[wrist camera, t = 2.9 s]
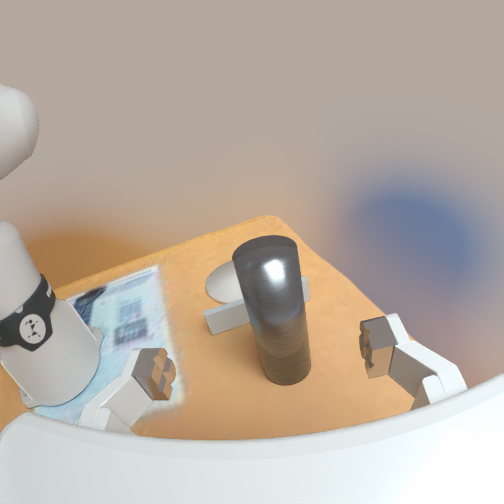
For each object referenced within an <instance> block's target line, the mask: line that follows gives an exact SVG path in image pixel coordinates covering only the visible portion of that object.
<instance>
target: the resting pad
mask: <svg viewBox="0 0 504 504" xmlns="http://www.w3.org/2000/svg"><path fill="white" fill-rule="evenodd" d="M206 290H207V293H208V295H209V296H210V297H211V298H212V299H213V300H214V301H217V302H219V303H222V304H227V303H230V302H233V301H236V300H239V299H242V298H243V295H242V292H241V288H240V285H239V281H238V278H237V274H236V271H235V267H234V263H233V260H231V261H229V262H227V263H225V264H223V265H221V266H219V267H218V268H216V269H215V270H214V271H213V272H212V273H211V274H210V275H209V277H208V279H207V281H206Z"/></svg>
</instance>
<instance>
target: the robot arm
mask: <svg viewBox="0 0 504 504" xmlns="http://www.w3.org/2000/svg"><path fill="white" fill-rule="evenodd" d="M38 133H39V119H38V114H37V110H36V108H35V106H34V104H33V102H32V101H31V99H30V98H29V97H28V96H27V95H26V94H25V93H24V92H22V91H20V90H18V89H15V88H11V87H8V86H5V85H2V84H0V180H1V179H3V178H5V177H6V176H7V175H8V174H9V173H11V172H12V171H13V170H14V169H16V168H17V167H18V166H19V165H20V164H22V163H23V162H24V161H25V160H27V159H28V158H29V157H30V156H31V155H32V153H33V151H34V149H35V146H36V143H37V139H38ZM360 330H361V335H360V336H359V343H360V350H361V355H362V358H364V359H365V360H366V361H365V368H366V371H367V375H368V378H369V379H370V378H375V377H380V376H384V375H388V374H389V376H390V377H391V378H392V379H393V380H394V381H396V382H397V383H398V384H399V385H400V386H401V387H403V388H404V389H405V390H406V391H407V392H408V393H410V394H411V395H412V396H413V397H414V398H415V400H414V402H413V405H412V407H411V409H410V411H408V412H405V413H401V414H398V415H394V416H391V417H387V418H383V419H380V420H376V421H372V422H368V423H363V424H359V425H354V426H350V427H345V428H340V429H334V430H329V431H323V432H316V433H310V434H302V435H294V436H286V437H275V438H263V439H247V440H183V439H167V438H155V437H145V436H137V434H136V433H134V432H133V431H132V430H131V429H130V428H131V427H132V426H133V425H134V424H135V422H136V421H137V420H138V419H139V418H140V416H141V415H142V414H143V413H144V412H145V410H146V409H147V408H148V407H149V406H150V404H151V403H152V402H153V400H170V396H171V392H172V387H171V385H170V384H171V383H172V382H173V381H174V380H175V376H176V371H175V366H174V363H173V361H172V360H171V359H169V358H167V354H168V353H167V352H166V350H165V349H164V348H146V349H133V350H132V351H131V352H130V355H129V357H128V359H127V362H126V364H125V367H124V369H123V372H122V374H121V376H118V377H117V378H115V379H114V380H113V381H112V382H111V383H110V384H108V385H107V386H106V387H105V388H104V389H103V390H102V391H100V392H99V393H98V394H97V395H96V396H95V397H93V398H92V399H91V400H90V401H89V402H88V403H87V404H85V406H84V409H83V411H82V414H81V416H80V419H79V421H78V424H77V425H74V424H70V423H66V422H62V421H58V420H55V419H51V418H48V417H44V416H41V415H38V414H34V413H31V412H24V413H23V414H21V415H19V416H18V417H17V418H15V419H14V420H13V421H11V422H10V423H9V424H7V425H6V426H5V428H4V429H3V430H2V432H1V433H0V504H504V372H503V373H501V374H499V375H497V376H495V377H493V378H491V379H489V380H487V381H485V382H483V383H481V384H479V385H476V386H474V387H472V388H470V389H468V388H467V386H466V384H465V382H464V380H463V378H462V376H461V374H460V372H459V370H458V368H457V366H456V365H454V364H453V363H451V362H449V361H448V360H446V359H444V358H443V357H441V356H439V355H438V354H436V353H434V352H432V351H431V350H429V349H428V348H426V347H424V346H423V345H421V344H419V343H418V342H416V341H410V339H409V336H408V334H407V332H406V330H405V328H404V326H403V324H402V322H401V320H400V318H399V316H398V315H397V314H396V313H394V314H390V315H386V316H381V317H377V318H373V319H369V320H364V321H361V322H360ZM103 337H104V334H103V332H102V331H101V330H100V329H98V328H95V327H92V326H89V325H86V324H85V323H84V321H83V320H82V319H81V317H80V316H79V314H78V313H77V311H76V310H75V308H74V307H73V305H72V304H71V303H70V302H69V301H67V302H66V301H65V300H60V299H57V298H56V296H55V294H54V292H53V290H52V289H51V286H50V284H49V282H48V281H47V280H46V279H45V277H44V276H43V274H40V273H39V272H38V270H37V268H36V266H35V264H34V262H33V261H32V258H31V256H30V254H29V252H28V250H27V248H26V246H25V244H24V242H23V240H22V238H21V235H20V233H19V231H18V230H17V229H16V228H15V227H14V226H13V225H12V224H10V223H8V222H5V221H1V220H0V358H1V364H2V366H3V367H4V369H5V370H6V371H7V372H8V373H9V375H10V376H11V377H12V378H13V380H14V381H15V382H16V383H17V384H18V386H19V390H20V395H21V399H22V402H23V404H24V405H25V406H26V407H27V408H32V407H36V406H38V405H45V406H57V405H61V404H63V403H66V402H68V401H70V400H71V399H73V398H74V397H76V396H77V395H78V394H79V393H81V392H82V391H83V390H84V389H85V387H86V386H87V385H88V384H89V382H90V381H91V380H92V378H93V376H94V374H95V372H96V370H97V367H98V364H99V359H100V352H99V348H100V345H101V342H102V340H103Z"/></svg>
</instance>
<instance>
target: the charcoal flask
mask: <svg viewBox="0 0 504 504" xmlns="http://www.w3.org/2000/svg"><path fill="white" fill-rule="evenodd" d="M232 260H233V263H234V267H235V271H236V274H237V278H238V281H239V285H240V288H241V292H242V295H243V299H244V302H245V306H246V309H247V313H248V316H249V320H250V323H251V327H252V330H253V334H254V337H255V341H256V344H257V347H258V351H259V354H260V358H261V361H262V364H263V368H264V371H265V374H266V376H267V378H268V379H269V380H270V381H272V382H273V383H275V384H278V385H293V384H296V383H298V382H300V381H302V380H303V379H304V378H305V377H306V376H307V375H308V373H309V372H310V369H311V359H310V349H309V340H308V330H307V321H306V312H305V304H304V296H303V288H302V280H301V272H300V265H299V258H298V250H297V245H296V243H295V242H294V241H293V240H292V239H290V238H288V237H284V236H278V235H270V236H262V237H258V238H255V239H252V240H249V241H247V242H245V243H243V244H242V245H240V246H239V247H238V248H237V249H236V250H235V251H234V253H233V256H232Z"/></svg>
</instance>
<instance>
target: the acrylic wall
mask: <svg viewBox="0 0 504 504" xmlns="http://www.w3.org/2000/svg"><path fill="white" fill-rule="evenodd" d="M301 280H302V288H303V296H304V302H307V301H309V300H310V296H309V287H308V280H307V279H306V277H305V276H304V277H301ZM203 312H204V316H205V319H206V321H207V324H208V326H209V328H210V331H211V333H212V335H215V334H218V333H221V332H224V331H227V330H230V329H233V328H236V327H239V326H242V325H245V324H247V323H250V320H249V316H248V313H247V309H246V306H245V302H244V299H243V298H242V299H239V300H236V301H233V302H230V303H227V304H224V305H221V306H218V307H215V308H212V309H209V310H206V311H203Z"/></svg>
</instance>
